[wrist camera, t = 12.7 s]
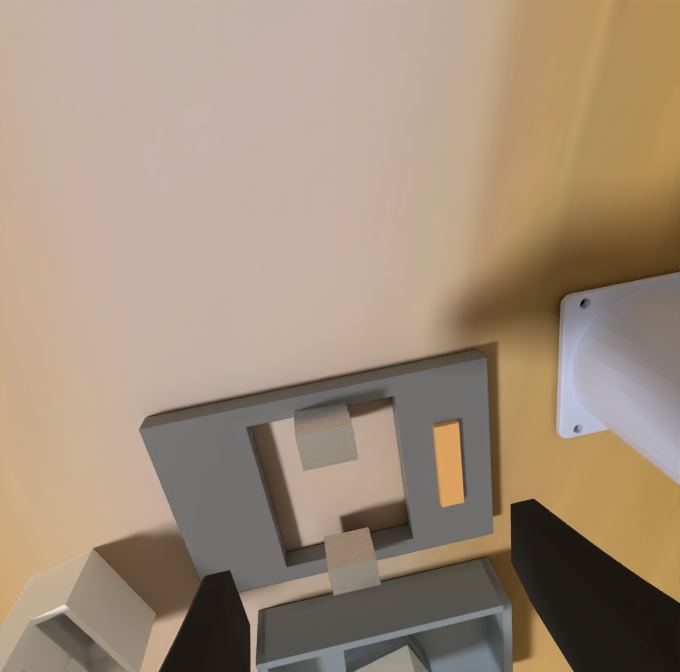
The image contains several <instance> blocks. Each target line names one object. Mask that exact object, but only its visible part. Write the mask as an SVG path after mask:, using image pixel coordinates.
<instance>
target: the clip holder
mask: <svg viewBox="0 0 680 672" xmlns="http://www.w3.org/2000/svg"><path fill="white" fill-rule="evenodd" d="M387 397H391V398H392V406H393V413H394V421H395V428H396V435H397V443H398V450H399V458H400V465H401V473H402V480H403V487H404V495H405V502H406V510H407V517H408V524H407V525H403V526H399V527H394V528H390V529H385V530H381V531H377V532H372V533H370V531H369V527H367V528H362V529H358V530H353V531H349V532H345V533H340V534H336V535H331V536H327V537H324V544H320V545H315V546H311V547H307V548H302V549H298V550H293V551H289V552H286V549H285V546H284V542H283V539H282V535H281V532H280V528H279V525H278V521H277V518H276V514H275V511H274V507H273V504H272V500H271V497H270V493H269V490H268V486H267V483H266V479H265V476H264V472H263V469H262V466H261V462H260V459H259V455H258V452H257V448H256V445H255V441H254V438H253V434H252V431H251V427H250V426H254V425H259V424H264V423H268V422H273V421H278V420H283V419H287V418H292V417H294V420H295V437H296V441H297V445H298V449H299V454H300V458H301V462H302V466H303V470H304V471H306V470H311V469H315V468H320V467H325V466H329V465H334V464H338V463H343V462H348V461H352V460H357V459H358V455H357V449H356V443H355V438H354V432H353V427H352V422H351V419H350V415H349V412H348V408H347V406H349V405H354V404H359V403H364V402H368V401H373V400H378V399H383V398H387ZM139 431H140V433H141V436H142V438H143V441H144V443H145V446H146V448H147V451H148V453H149V456H150V458H151V461H152V463H153V465H154V468H155V470H156V473H157V475H158V478H159V480H160V483H161V485H162V488H163V490H164V493H165V495H166V498H167V500H168V503H169V505H170V508H171V510H172V512H173V515H174V517H175V520H176V522H177V525H178V527H179V530H180V532H181V535H182V537H183V540H184V542H185V545H186V547H187V550H188V552H189V555H190V557H191V559H192V562H193V564H194V567H195V569H196V572H197V574H198V577H199V579H200V582H201V581H202V579H203V578H204V577H205V576H206V575H210V574H215V573H219V572H223V571H228V570H230V571H231V574H232V577H233V579H234V582H235V585H236V588H237V591H238V593H239V592H243V591H248V590H252V589H256V588H260V587H265V586H269V585H273V584H278V583H282V582H286V581H291V580H295V579H299V578H304V577H308V576H312V575H316V574H321V573H325V572H328V573H329V578H330V582H331V586H332V590H333V594H334V595H339V594H343V593H347V592H351V591H356V590H360V589H364V588H368V587H373V586H377V585H381V583H380V577H379V571H378V566H377V560H381V559H385V558H390V557H394V556H398V555H403V554H407V553H411V552H416V551H420V550H424V549H429V548H433V547H437V546H441V545H446V544H450V543H454V542H459V541H463V540H467V539H472V538H476V537H480V536H485V535H489V534H493V511H492V483H491V456H490V428H489V401H488V373H487V357H486V356H485V355H484V354H483V353H482V352H480V351H479V350H478V349H476V350H471V351H466V352H461V353H456V354H451V355H447V356H442V357H437V358H432V359H427V360H422V361H418V362H413V363H408V364H403V365H398V366H393V367H388V368H384V369H379V370H374V371H369V372H364V373H359V374H354V375H350V376H345V377H340V378H335V379H330V380H325V381H320V382H316V383H311V384H306V385H301V386H296V387H291V388H286V389H282V390H277V391H272V392H267V393H262V394H257V395H252V396H248V397H243V398H238V399H233V400H228V401H223V402H218V403H214V404H209V405H204V406H199V407H194V408H189V409H185V410H180V411H175V412H170V413H165V414H160V415H155V416H151V417H146V418H145V419H144V421H143V423H142V425H141V427H140V429H139Z"/></svg>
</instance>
